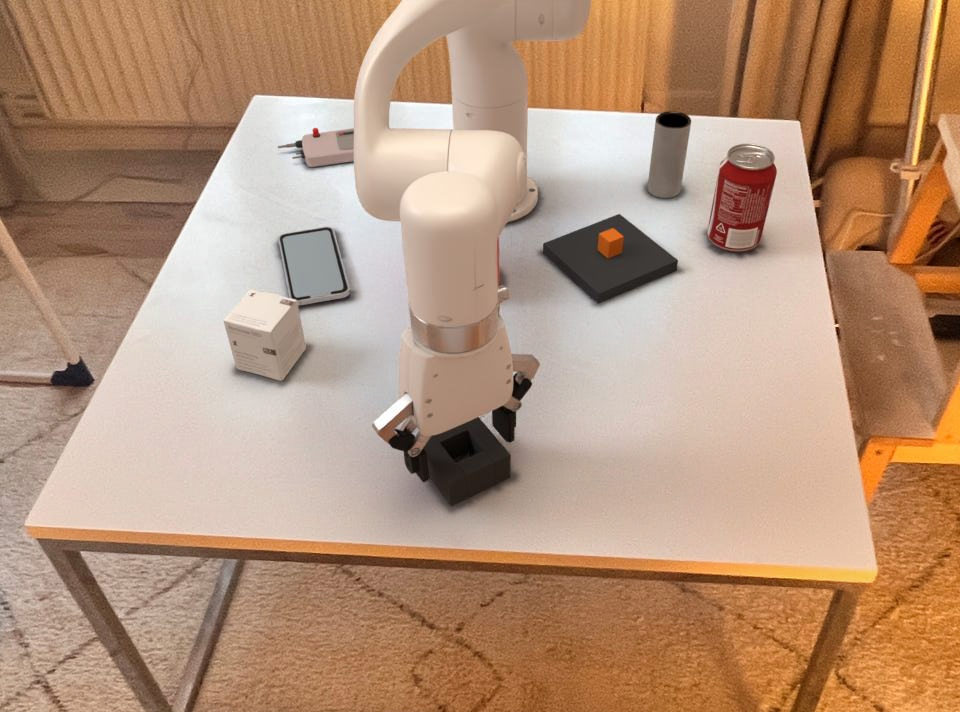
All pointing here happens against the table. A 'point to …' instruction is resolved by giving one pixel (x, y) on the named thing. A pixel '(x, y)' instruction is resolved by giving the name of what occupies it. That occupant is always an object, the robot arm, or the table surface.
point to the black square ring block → (466, 461)
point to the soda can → (742, 197)
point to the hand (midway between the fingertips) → (461, 452)
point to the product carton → (265, 334)
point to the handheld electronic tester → (325, 147)
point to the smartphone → (313, 266)
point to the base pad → (609, 257)
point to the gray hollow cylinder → (668, 154)
